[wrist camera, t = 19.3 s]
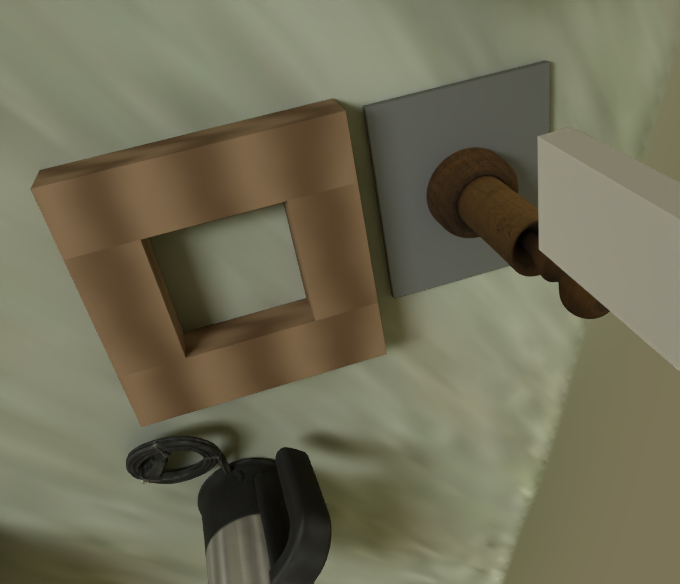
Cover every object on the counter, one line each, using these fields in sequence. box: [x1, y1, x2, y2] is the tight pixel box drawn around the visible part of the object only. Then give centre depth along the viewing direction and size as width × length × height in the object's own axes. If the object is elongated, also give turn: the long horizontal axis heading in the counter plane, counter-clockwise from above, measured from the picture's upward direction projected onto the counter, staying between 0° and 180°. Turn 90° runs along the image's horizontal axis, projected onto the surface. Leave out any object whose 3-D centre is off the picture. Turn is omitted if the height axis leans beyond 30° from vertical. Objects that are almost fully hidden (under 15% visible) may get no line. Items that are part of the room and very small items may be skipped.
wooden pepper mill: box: [427, 147, 609, 319], centre depth 41 cm, size 7×6×18 cm
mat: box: [363, 61, 550, 299], centre depth 49 cm, size 14×16×1 cm
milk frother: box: [126, 436, 331, 584], centre depth 52 cm, size 14×16×15 cm
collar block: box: [31, 99, 387, 427], centre depth 46 cm, size 20×20×4 cm
